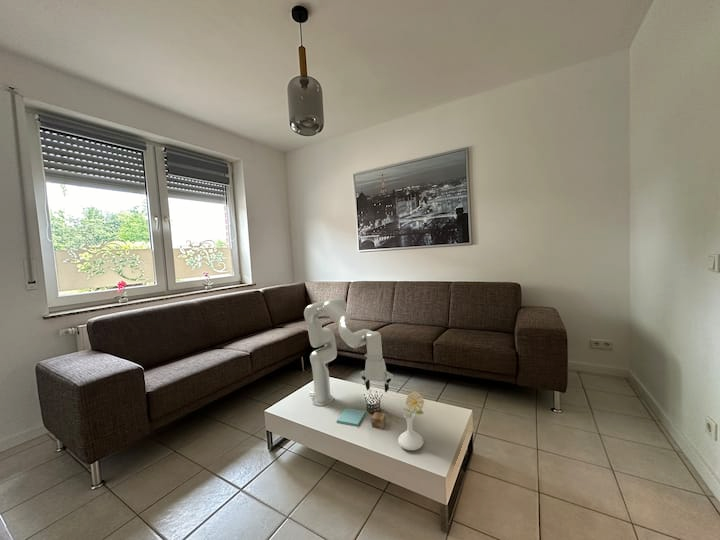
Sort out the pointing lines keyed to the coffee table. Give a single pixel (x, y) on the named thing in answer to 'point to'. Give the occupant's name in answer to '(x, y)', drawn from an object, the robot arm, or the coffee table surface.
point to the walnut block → (378, 420)
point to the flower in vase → (410, 437)
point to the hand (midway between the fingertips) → (377, 389)
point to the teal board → (351, 417)
